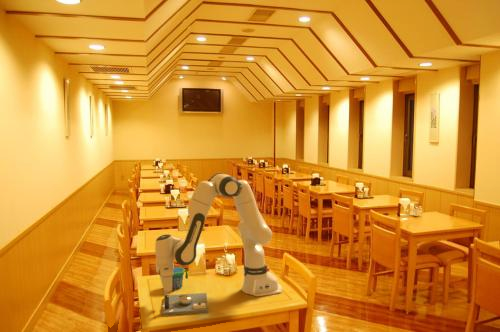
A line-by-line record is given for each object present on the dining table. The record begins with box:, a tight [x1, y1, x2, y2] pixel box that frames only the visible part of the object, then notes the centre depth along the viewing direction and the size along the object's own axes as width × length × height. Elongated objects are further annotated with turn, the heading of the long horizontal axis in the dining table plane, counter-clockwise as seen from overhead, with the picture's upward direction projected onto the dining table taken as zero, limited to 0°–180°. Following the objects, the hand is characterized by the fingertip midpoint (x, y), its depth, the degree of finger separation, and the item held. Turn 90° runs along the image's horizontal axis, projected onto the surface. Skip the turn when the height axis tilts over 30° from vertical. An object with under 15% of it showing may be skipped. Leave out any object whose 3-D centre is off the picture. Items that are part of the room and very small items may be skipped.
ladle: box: [163, 293, 192, 309], centre depth 203 cm, size 15×7×6 cm, turn 129°
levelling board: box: [161, 292, 209, 317], centre depth 207 cm, size 23×20×4 cm
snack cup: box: [172, 266, 189, 290], centre depth 229 cm, size 16×10×10 cm
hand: (166, 293), depth 205 cm, fingers closed
